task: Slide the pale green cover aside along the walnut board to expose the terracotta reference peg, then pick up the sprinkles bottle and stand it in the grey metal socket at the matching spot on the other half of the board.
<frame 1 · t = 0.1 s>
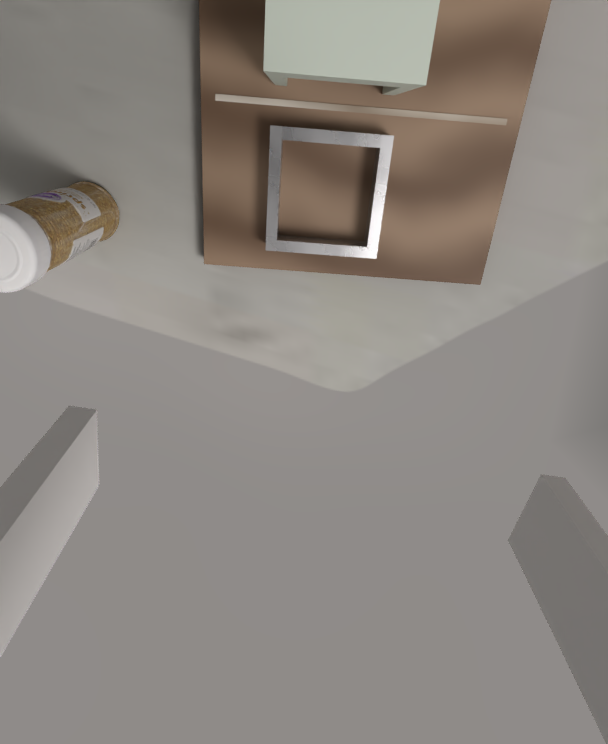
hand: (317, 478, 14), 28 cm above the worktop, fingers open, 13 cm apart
socket: (324, 189, 37), resting on board
board: (367, 42, 33), on the worktop
sprinkles bottle: (92, 211, 38), on the worktop
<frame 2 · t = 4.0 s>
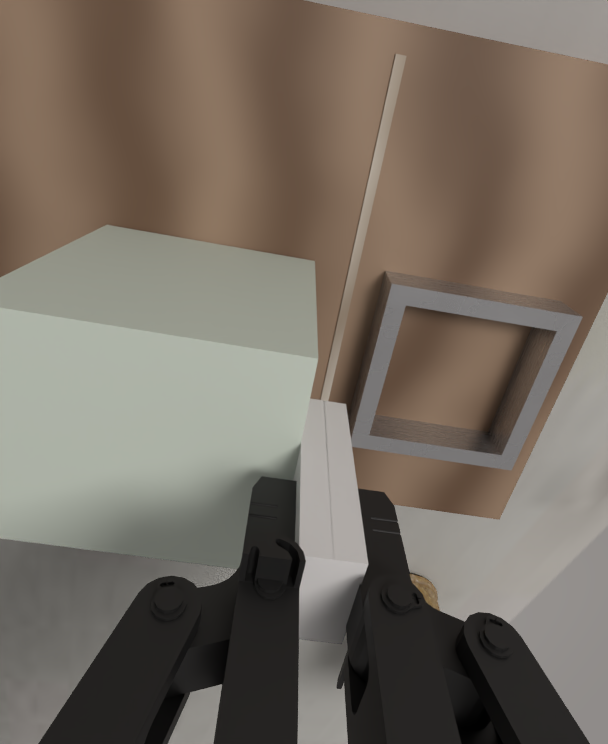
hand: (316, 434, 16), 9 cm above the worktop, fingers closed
socket: (439, 353, 25), resting on board
board: (261, 285, 23), on the worktop
cover: (179, 377, 18), point 7 cm above the worktop, slide at 0.8 cm, touching gripper
sprinkles bottle: (403, 591, 33), on the worktop
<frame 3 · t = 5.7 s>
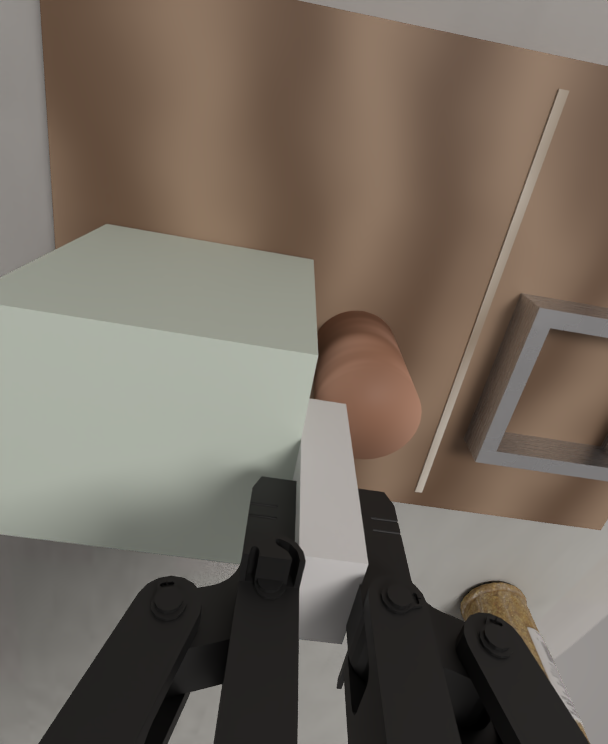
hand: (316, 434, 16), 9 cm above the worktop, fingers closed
socket: (554, 370, 26), resting on board
board: (389, 305, 24), on the worktop
cover: (180, 375, 18), point 7 cm above the worktop, slide at 7.2 cm, touching gripper
sprinkles bottle: (490, 599, 34), on the worktop
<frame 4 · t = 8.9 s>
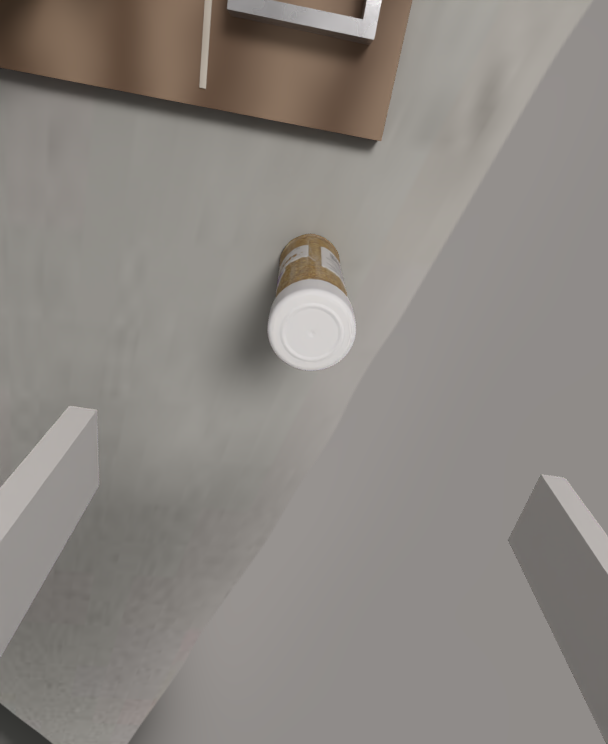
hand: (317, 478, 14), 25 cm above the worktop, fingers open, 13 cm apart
sprinkles bottle: (310, 263, 36), on the worktop
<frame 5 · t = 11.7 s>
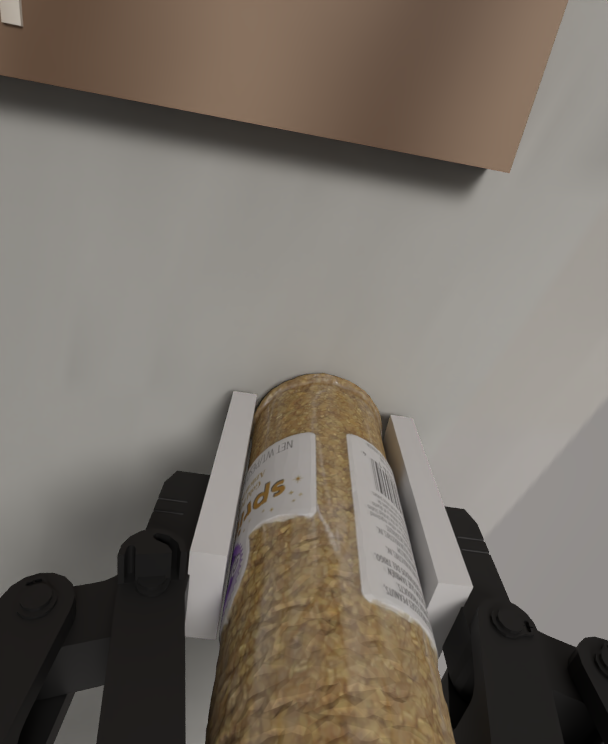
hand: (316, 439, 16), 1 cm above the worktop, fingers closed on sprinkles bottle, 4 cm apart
sprinkles bottle: (317, 424, 17), on the worktop, touching gripper
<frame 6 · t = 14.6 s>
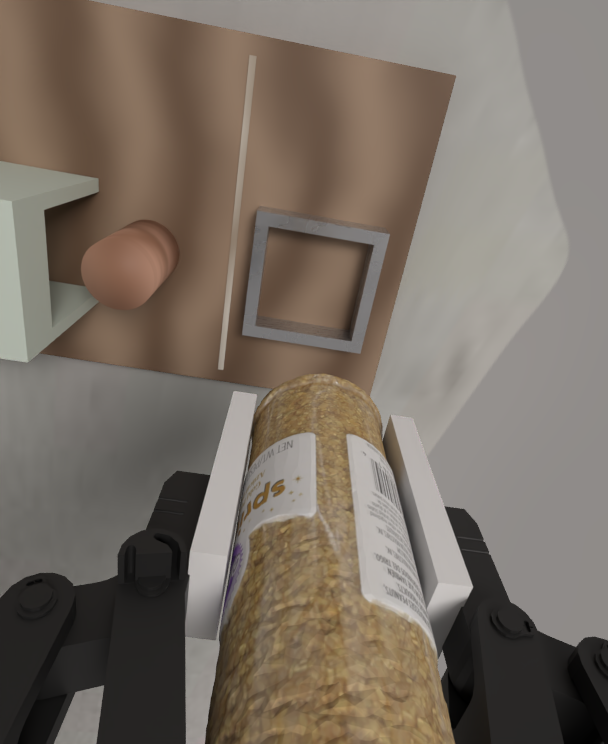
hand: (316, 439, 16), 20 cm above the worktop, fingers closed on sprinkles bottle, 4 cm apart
socket: (311, 272, 34), resting on board
board: (178, 219, 33), on the worktop
sprinkles bottle: (317, 424, 17), point 19 cm above the worktop, touching gripper
when the fingers open (5 cm above the worktop, at t = 17.6 s): sprinkles bottle drops 3 cm, resting on board.
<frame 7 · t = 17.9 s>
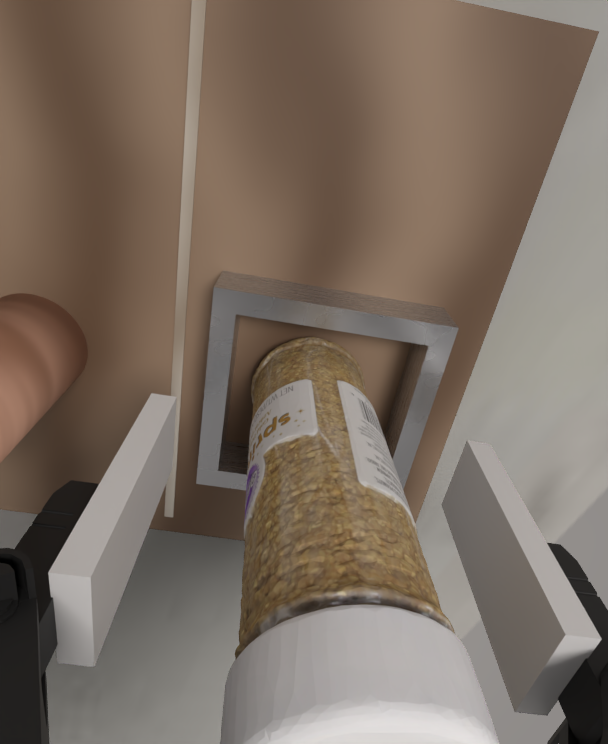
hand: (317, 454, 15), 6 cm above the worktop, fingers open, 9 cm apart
socket: (314, 369, 21), resting on board
board: (88, 288, 19), on the worktop
sprinkles bottle: (308, 384, 20), point 1 cm above the worktop, touching board
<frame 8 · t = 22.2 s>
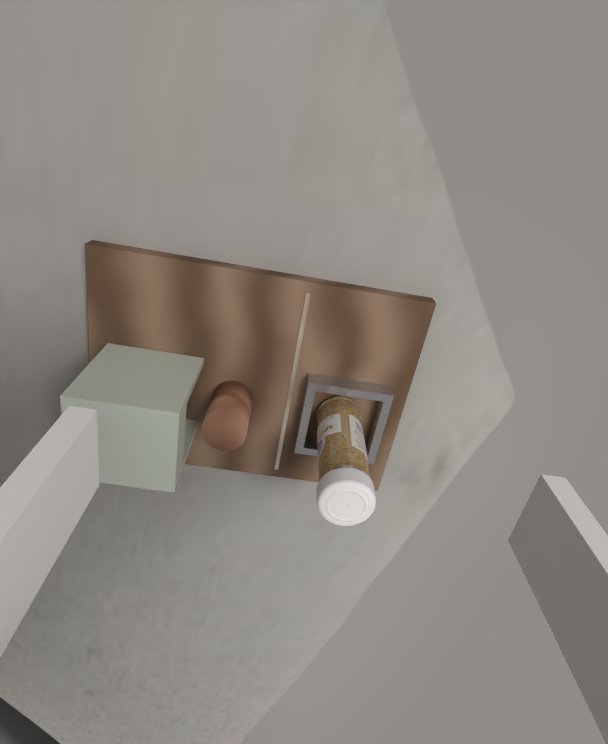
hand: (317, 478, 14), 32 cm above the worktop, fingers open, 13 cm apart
socket: (340, 406, 50), resting on board
board: (251, 375, 49), on the worktop
cover: (139, 413, 43), point 7 cm above the worktop, slide at 7.7 cm
sprinkles bottle: (338, 413, 49), point 1 cm above the worktop, touching board
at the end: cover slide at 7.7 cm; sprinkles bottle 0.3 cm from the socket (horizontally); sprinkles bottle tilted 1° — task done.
